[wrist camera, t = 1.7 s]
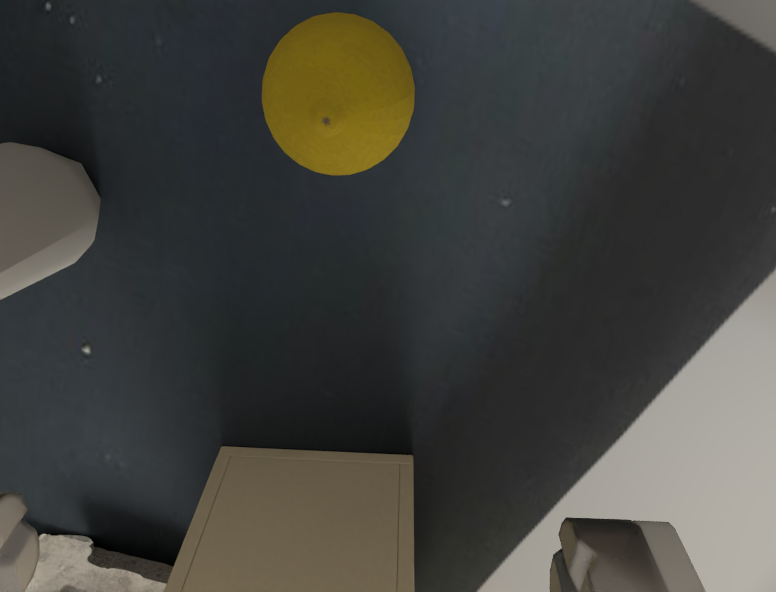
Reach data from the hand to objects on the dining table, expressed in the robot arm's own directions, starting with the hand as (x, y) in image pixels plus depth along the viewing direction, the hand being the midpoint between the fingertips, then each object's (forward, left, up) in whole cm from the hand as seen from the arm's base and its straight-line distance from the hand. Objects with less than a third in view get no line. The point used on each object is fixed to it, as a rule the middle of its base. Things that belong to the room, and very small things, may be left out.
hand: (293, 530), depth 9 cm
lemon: (+1, -3, -21) cm, 21 cm away
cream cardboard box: (+3, +25, -21) cm, 33 cm away
